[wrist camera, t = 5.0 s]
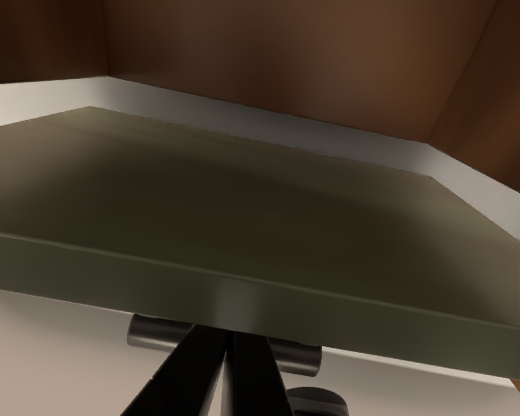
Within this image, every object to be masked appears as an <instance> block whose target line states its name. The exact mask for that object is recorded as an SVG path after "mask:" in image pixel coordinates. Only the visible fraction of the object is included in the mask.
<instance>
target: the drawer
mask: <svg viewBox="0 0 520 416" xmlns="http://www.w3.org/2000/svg"><path fill="white" fill-rule="evenodd" d="M107 76H109V77H113V78H118V79H123V80H127V81H132V82H137V83H142V84H146V85H151V86H156V87H160V88H165V89H170V90H175V91H179V92H184V93H189V94H193V95H198V96H203V97H208V98H212V99H217V100H222V101H226V102H231V103H236V104H241V105H245V106H250V107H255V108H259V109H264V110H269V111H274V112H278V113H283V114H288V115H293V116H297V117H302V118H307V119H311V120H316V121H321V122H326V123H330V124H335V125H340V126H344V127H349V128H354V129H359V130H363V131H368V132H373V133H377V134H382V135H387V136H392V137H396V138H401V139H406V140H410V141H415V142H420V143H425V144H428V145H430V146H432V147H433V148H435V149H437V150H439V151H441V152H443V153H445V154H447V155H449V156H450V157H452V158H454V159H456V160H458V161H460V162H462V163H464V164H466V165H467V166H469V167H471V168H473V169H475V170H477V171H479V172H481V173H483V174H484V175H486V176H488V177H490V178H492V179H494V180H496V181H498V182H500V183H501V184H503V185H505V186H507V187H509V188H511V189H513V190H515V191H517V192H518V193H520V0H0V84H10V83H24V82H38V81H52V80H66V79H80V78H94V77H107ZM0 290H4V291H9V292H15V293H21V294H26V295H32V296H38V297H44V298H49V299H55V300H61V301H67V302H72V303H78V304H84V305H90V306H95V307H101V308H107V309H113V310H118V311H124V312H130V313H134V314H133V316H132V319H131V322H130V325H129V329H128V334H127V343H128V345H129V346H133V347H138V348H144V349H150V350H156V351H162V352H168V353H171V352H172V351H173V350H174V349H175V347H176V346H177V345H178V344H179V342H180V341H181V340H182V339H183V337H184V336H185V335H186V334H187V332H188V331H189V330H190V329H191V327H192V326H193V325H194V324H199V325H204V326H210V327H216V328H222V329H227V330H233V331H239V332H245V333H250V334H256V335H262V336H267V337H268V340H269V343H270V346H271V349H272V351H273V354H274V357H275V360H276V363H277V366H278V369H279V371H281V372H286V373H292V374H298V375H304V376H310V377H314V376H316V375H317V374H318V372H319V369H320V365H321V359H322V346H325V347H331V348H337V349H342V350H348V351H354V352H359V353H365V354H371V355H377V356H382V357H388V358H394V359H400V360H405V361H411V362H417V363H423V364H428V365H434V366H440V367H446V368H451V369H457V370H463V371H469V372H474V373H480V374H486V375H492V376H497V377H503V378H509V379H514V380H520V241H519V240H517V239H516V238H515V237H513V236H512V235H510V234H509V233H508V232H506V231H505V230H504V229H502V228H501V227H499V226H498V225H497V224H495V223H494V222H493V221H491V220H490V219H488V218H487V217H486V216H484V215H483V214H482V213H480V212H479V211H477V210H476V209H475V208H473V207H472V206H471V205H469V204H468V203H466V202H465V201H464V200H462V199H461V198H460V197H458V196H457V195H455V194H454V193H453V192H451V191H450V190H449V189H447V188H446V187H444V186H443V185H442V184H440V183H439V182H438V181H436V180H435V179H433V178H432V177H430V176H425V175H421V174H416V173H411V172H406V171H401V170H396V169H391V168H387V167H382V166H377V165H372V164H367V163H362V162H358V161H353V160H348V159H343V158H338V157H333V156H329V155H324V154H319V153H314V152H309V151H304V150H300V149H295V148H290V147H285V146H280V145H275V144H270V143H266V142H261V141H256V140H251V139H246V138H241V137H237V136H232V135H227V134H222V133H217V132H212V131H208V130H203V129H198V128H193V127H188V126H183V125H179V124H174V123H169V122H164V121H159V120H154V119H150V118H145V117H140V116H135V115H130V114H125V113H120V112H116V111H111V110H106V109H101V108H96V107H91V106H88V107H84V108H79V109H75V110H70V111H66V112H61V113H57V114H52V115H48V116H43V117H39V118H34V119H30V120H25V121H21V122H16V123H12V124H7V125H3V126H0ZM225 354H226V353H225ZM224 361H225V357H224Z"/></svg>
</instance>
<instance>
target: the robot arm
mask: <svg viewBox="0 0 520 416" xmlns="http://www.w3.org/2000/svg"><path fill="white" fill-rule="evenodd" d="M225 353H226V354H225ZM224 357H225V361H224ZM223 362H224V372H223V387H222V400H221V415H220V416H328V415H322V414H316V413H310V412H304V411H298V410H293V408H292V405H291V403H290V402H289V401H288V400H289V397H288V394H287V392H286V389H285V386H284V383H283V380H282V377H281V375H280V371H279V369H278V366H277V363H276V360H275V357H274V354H273V351H272V349H271V346H270V343H269V340H268V337H267V336H262V335H256V334H250V333H245V332H239V331H233V330H227V329H222V328H216V327H210V326H204V325H199V324H194V325H193V326H192V327H191V329H190V330H189V331H188V332H187V334H186V335H185V336H184V337H183V339H182V340H181V341H180V342H179V344H178V345H177V346H176V347H175V349H174V350H173V351H172V352H171V354H170V355H169V356H168V358H167V359H166V360H165V361H164V362H163V364H162V365H161V366H160V368H159V369H158V370H157V371H156V373H155V374H154V375H153V377H152V379H150V380H149V381H148V382H147V384H146V385H145V386H144V387H143V389H142V390H141V391H140V392H139V394H138V395H137V396H136V397H135V398H134V400H133V401H132V402H131V403H130V404H129V405H128V407H127V408H126V409H125V410H124V411H123V413H122V414H121V415H120V416H207V415H208V412H209V409H210V405H211V402H212V399H213V395H214V392H215V389H216V386H217V382H218V379H219V375H220V372H221V369H222V365H223Z"/></svg>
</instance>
